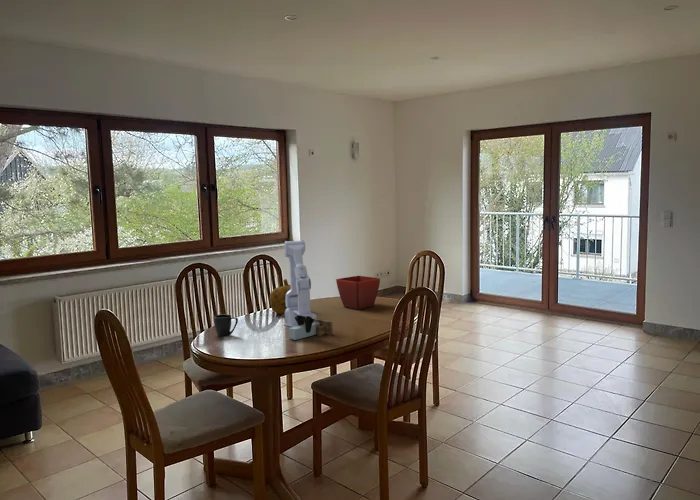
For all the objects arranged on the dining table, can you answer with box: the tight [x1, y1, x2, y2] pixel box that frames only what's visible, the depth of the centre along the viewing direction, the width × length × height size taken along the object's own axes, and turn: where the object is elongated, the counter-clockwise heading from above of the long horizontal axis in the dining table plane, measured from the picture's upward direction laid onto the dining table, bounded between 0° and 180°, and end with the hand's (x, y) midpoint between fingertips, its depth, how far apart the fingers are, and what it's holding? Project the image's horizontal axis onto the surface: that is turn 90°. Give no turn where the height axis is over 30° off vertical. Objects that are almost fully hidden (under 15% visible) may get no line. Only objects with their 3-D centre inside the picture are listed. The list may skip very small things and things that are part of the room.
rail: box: [288, 322, 320, 341], centre depth 255 cm, size 16×4×5 cm, turn 137°
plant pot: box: [335, 275, 381, 310], centre depth 319 cm, size 19×19×17 cm
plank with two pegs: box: [313, 318, 334, 337], centre depth 261 cm, size 14×6×6 cm, turn 47°
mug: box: [213, 313, 239, 338], centre depth 261 cm, size 8×12×10 cm
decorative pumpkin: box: [269, 278, 296, 316], centre depth 307 cm, size 20×21×20 cm
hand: (305, 331), depth 256 cm, fingers closed on rail, 4 cm apart
